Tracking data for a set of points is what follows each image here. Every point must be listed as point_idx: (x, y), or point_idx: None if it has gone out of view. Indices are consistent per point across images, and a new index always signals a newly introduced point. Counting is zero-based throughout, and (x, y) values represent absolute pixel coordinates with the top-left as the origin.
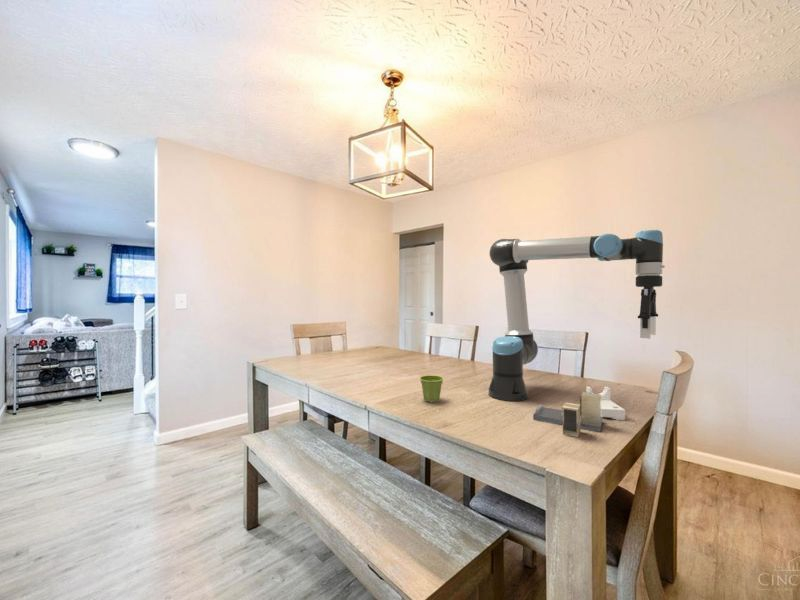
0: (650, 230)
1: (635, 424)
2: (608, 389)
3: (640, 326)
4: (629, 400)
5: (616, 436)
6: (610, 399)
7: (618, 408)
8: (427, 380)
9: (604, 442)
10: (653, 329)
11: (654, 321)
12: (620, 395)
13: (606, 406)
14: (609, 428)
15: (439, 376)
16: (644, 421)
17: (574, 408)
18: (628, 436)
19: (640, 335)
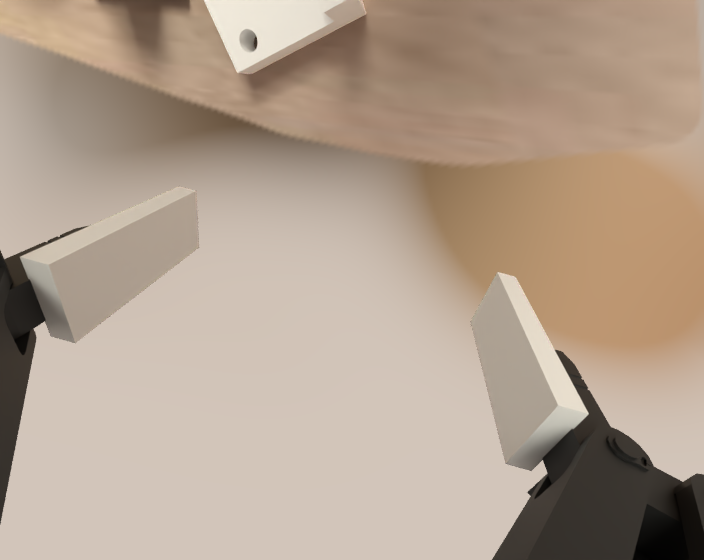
0: None
1: (229, 101)
2: (320, 2)
3: (105, 219)
4: (493, 107)
5: (102, 41)
6: (333, 20)
7: (240, 50)
8: None
9: (37, 6)
10: (483, 342)
11: (497, 408)
12: (567, 76)
13: (239, 4)
14: (146, 21)
15: None
16: (271, 129)
17: None
18: (125, 73)
19: (165, 193)
